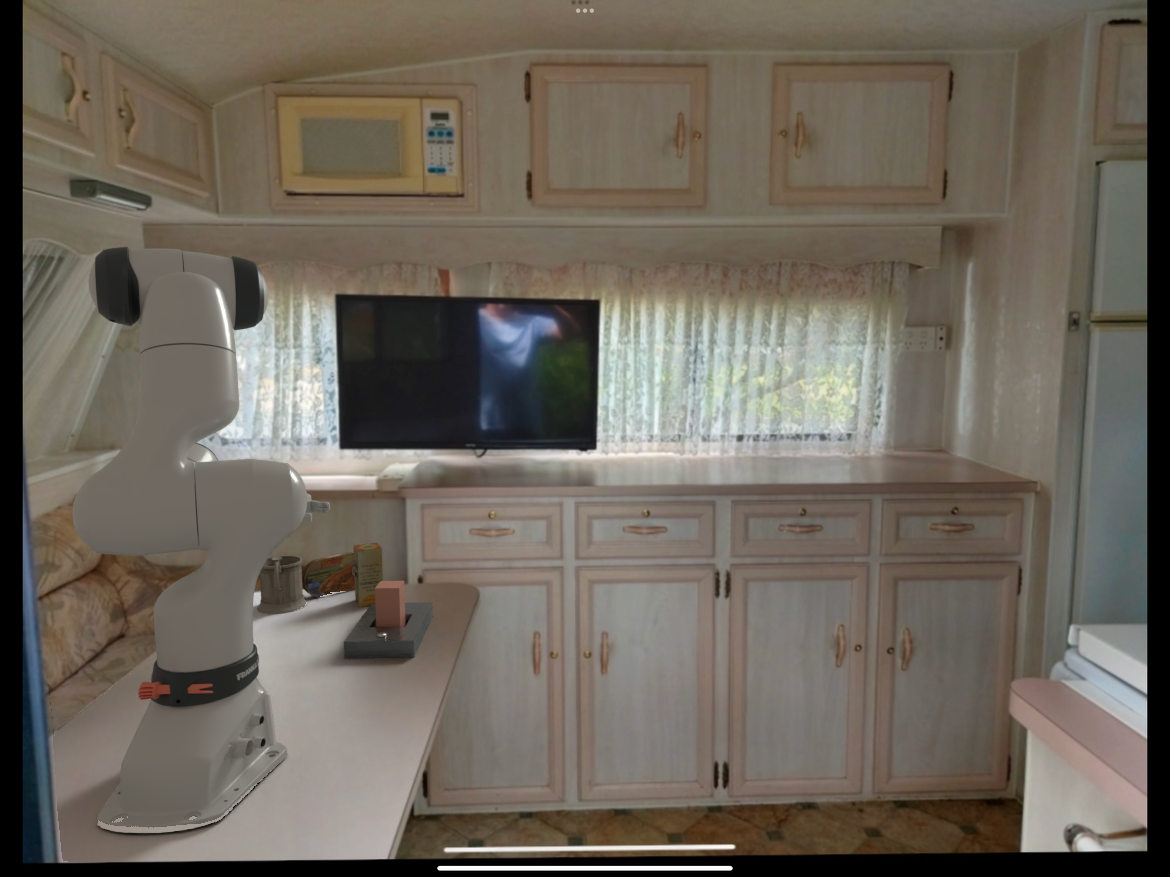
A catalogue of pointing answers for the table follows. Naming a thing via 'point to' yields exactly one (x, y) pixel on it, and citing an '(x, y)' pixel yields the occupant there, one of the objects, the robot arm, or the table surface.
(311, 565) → the tin
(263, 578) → the mug
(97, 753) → the table surface
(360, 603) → the shoe polish box
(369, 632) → the block with square hole
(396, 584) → the square peg
